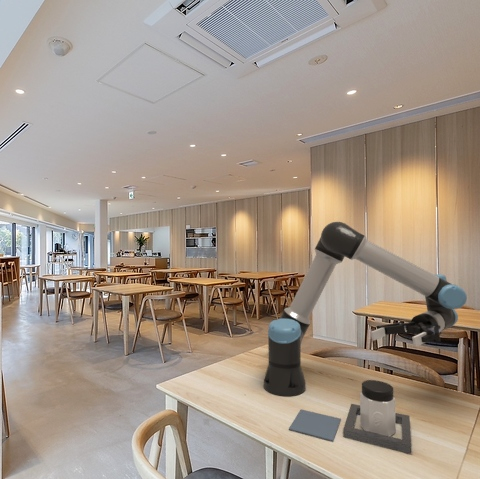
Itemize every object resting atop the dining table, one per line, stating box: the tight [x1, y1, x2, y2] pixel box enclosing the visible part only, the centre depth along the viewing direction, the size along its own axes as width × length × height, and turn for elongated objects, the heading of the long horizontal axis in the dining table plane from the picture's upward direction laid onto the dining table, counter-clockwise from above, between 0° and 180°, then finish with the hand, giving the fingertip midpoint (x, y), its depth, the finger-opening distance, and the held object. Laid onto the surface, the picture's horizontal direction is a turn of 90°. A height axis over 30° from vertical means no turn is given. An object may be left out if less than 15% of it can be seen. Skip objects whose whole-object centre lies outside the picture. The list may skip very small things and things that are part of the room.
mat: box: [288, 409, 342, 443], centre depth 90 cm, size 12×12×1 cm
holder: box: [342, 403, 412, 455], centre depth 88 cm, size 16×16×2 cm
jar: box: [359, 379, 397, 437], centre depth 88 cm, size 9×8×12 cm
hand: (391, 339), depth 97 cm, fingers open, 13 cm apart
